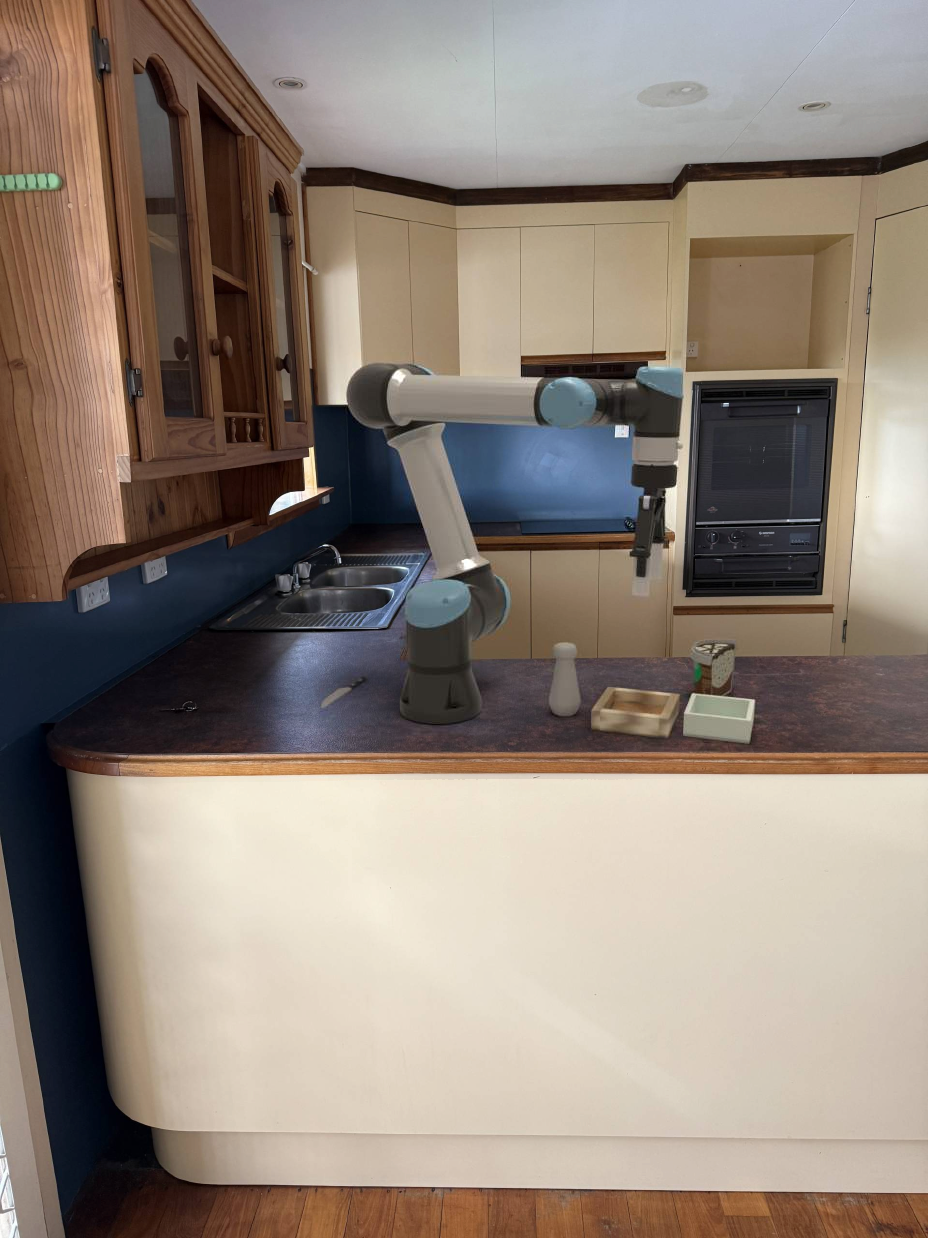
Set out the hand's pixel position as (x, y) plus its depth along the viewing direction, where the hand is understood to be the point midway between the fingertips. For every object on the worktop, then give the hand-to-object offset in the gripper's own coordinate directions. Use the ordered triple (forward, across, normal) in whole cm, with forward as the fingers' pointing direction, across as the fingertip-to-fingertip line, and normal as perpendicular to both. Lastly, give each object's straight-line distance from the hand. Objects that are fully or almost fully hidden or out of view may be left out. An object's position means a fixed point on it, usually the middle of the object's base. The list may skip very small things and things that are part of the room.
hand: (646, 587), depth 145 cm
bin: (+23, -3, -14) cm, 27 cm away
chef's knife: (+26, -7, +58) cm, 64 cm away
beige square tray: (+23, -4, 0) cm, 24 cm away
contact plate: (+23, -4, 0) cm, 24 cm away
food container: (+23, +14, -10) cm, 29 cm away
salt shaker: (+24, -4, +13) cm, 27 cm away
